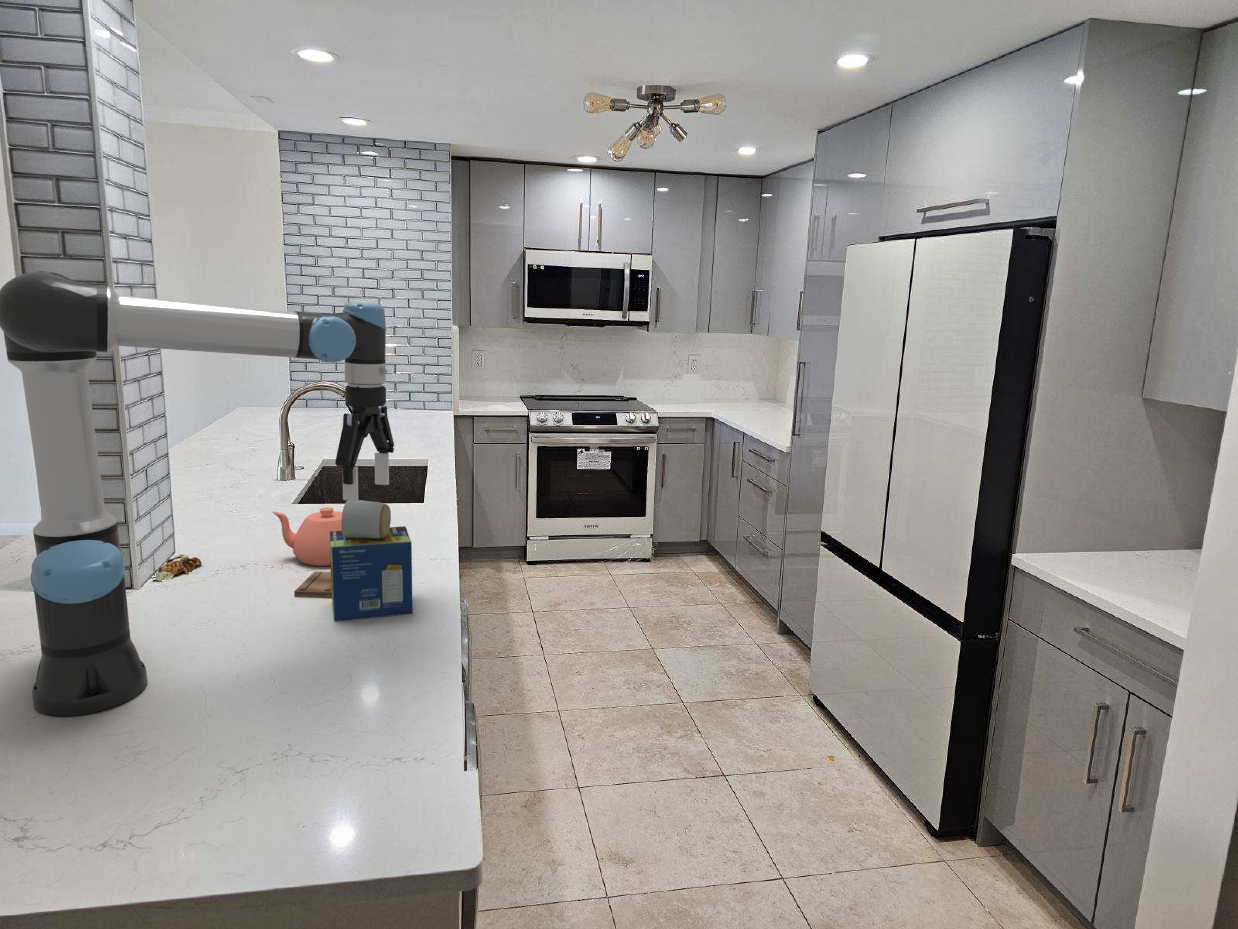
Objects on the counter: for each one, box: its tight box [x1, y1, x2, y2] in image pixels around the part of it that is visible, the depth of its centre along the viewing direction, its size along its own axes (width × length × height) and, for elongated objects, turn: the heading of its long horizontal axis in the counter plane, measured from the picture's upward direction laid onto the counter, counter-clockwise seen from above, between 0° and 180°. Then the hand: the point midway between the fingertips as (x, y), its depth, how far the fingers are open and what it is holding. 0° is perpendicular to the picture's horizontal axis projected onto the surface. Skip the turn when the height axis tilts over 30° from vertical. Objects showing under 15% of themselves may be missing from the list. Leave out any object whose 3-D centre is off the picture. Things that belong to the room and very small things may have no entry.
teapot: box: [271, 506, 343, 567], centre depth 190 cm, size 22×16×12 cm
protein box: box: [330, 525, 414, 622], centre depth 162 cm, size 10×15×16 cm
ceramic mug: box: [341, 499, 392, 539], centre depth 160 cm, size 11×8×8 cm
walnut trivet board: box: [293, 571, 332, 599], centre depth 173 cm, size 12×8×2 cm, turn 1°
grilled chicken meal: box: [152, 553, 202, 582], centre depth 178 cm, size 7×12×4 cm, turn 177°
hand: (366, 492), depth 158 cm, fingers open, 13 cm apart
